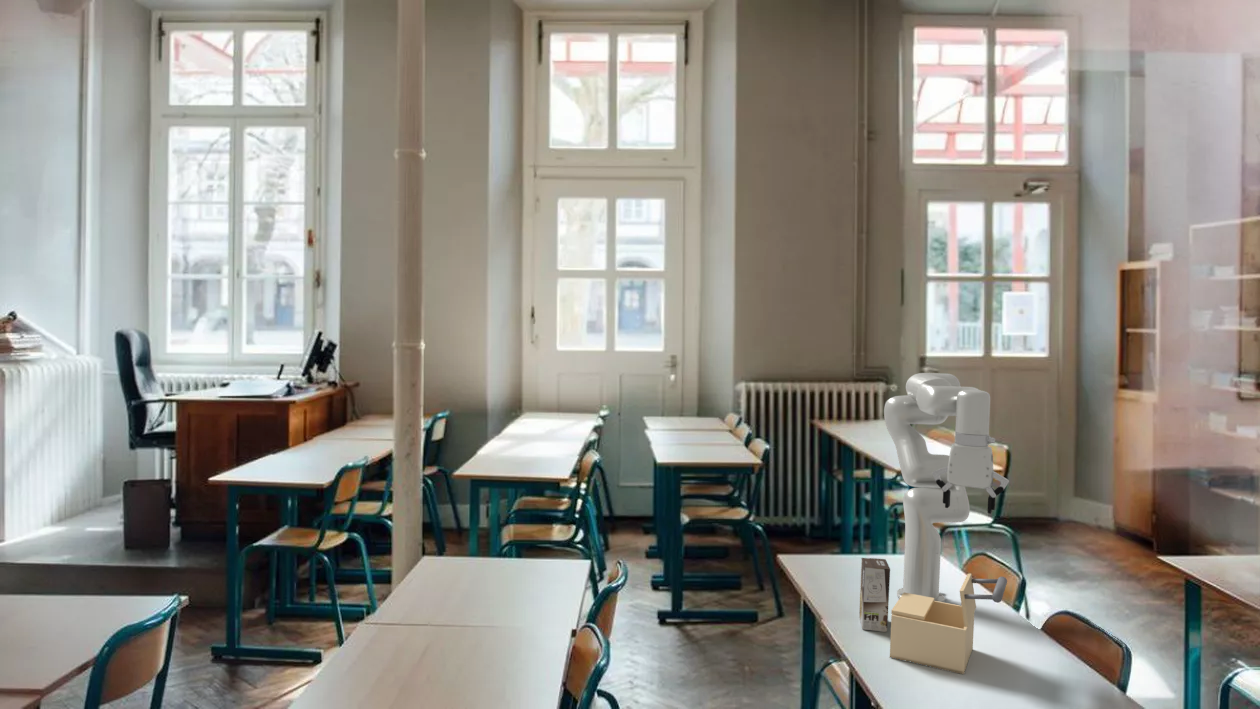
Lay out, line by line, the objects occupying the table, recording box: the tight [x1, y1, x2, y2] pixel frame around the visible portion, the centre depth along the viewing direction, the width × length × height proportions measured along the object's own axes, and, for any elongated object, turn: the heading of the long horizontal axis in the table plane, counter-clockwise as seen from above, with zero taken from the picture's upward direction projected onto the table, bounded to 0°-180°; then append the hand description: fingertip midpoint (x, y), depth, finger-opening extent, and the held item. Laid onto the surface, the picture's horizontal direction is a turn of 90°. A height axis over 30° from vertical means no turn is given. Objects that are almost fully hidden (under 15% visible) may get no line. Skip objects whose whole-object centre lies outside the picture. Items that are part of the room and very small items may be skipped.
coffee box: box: [858, 557, 891, 633], centre depth 204 cm, size 9×6×16 cm
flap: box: [959, 573, 1008, 627], centre depth 181 cm, size 8×14×8 cm
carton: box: [889, 592, 975, 675], centre depth 187 cm, size 16×16×11 cm
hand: (968, 509), depth 195 cm, fingers open, 9 cm apart
